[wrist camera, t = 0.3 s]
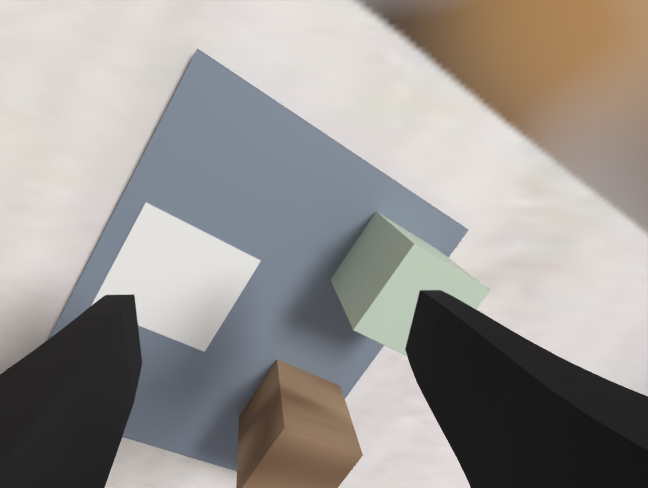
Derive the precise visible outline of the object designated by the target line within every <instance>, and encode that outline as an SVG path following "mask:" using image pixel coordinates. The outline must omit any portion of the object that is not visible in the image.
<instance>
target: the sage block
mask: <svg viewBox="0 0 648 488" xmlns="http://www.w3.org/2000/svg"><path fill="white" fill-rule="evenodd" d="M331 282H332V285H333V287H334V289H335V291H336V293H337V295H338V298H339V300H340V302H341V304H342V306H343V309H344V311H345V313H346V315H347V317H348V319H349V322H350V324H351V326H352V328H353V330H354V331H356V332H358V333H360V334H362V335H364V336H367V337H369V338H371V339H373V340H375V341H377V342H379V343H381V344H383V345H385V346H387V347H389V348H391V349H393V350H395V351H398V352H400V353H402V354H404V355H406V356H407V353H406V351H405V348H406V344H407V340H408V336H409V332H410V328H411V324H412V320H413V316H414V312H415V308H416V304H417V300H418V296H419V292H420V290H441V291H443V292H445V293H448V294H450V295H451V296H453V297H455V298H457V299H459V300H460V301H462V302H464V303H466V304H467V305H469V306H471V307H472V308H474V309H476V308H477V307H478V306H479V305H480V303H481V302H482V301H483V299H484V298H485V297H486V296H487V294H488V293H489V292H490V290H489V289H488V288H487V287H485V286H484V285H483V284H482V283H480V282H479V281H478V280H476V279H475V278H474V277H473V276H471V275H470V274H469V273H467V272H466V271H465V270H464V269H462V268H461V267H460V266H458V265H457V264H456V263H455V262H453V261H452V260H451V259H449V258H448V257H447V256H446V255H444V254H443V253H442V252H440V251H439V250H438V249H436V248H434V247H433V246H431V245H430V244H428V243H426V242H425V241H423V240H422V239H420V238H418V237H417V236H415V235H414V234H412V233H410V232H409V231H407V230H406V229H404V228H402V227H401V226H399V225H398V224H396V223H394V222H393V221H391V220H390V219H388V218H386V217H385V216H383V215H381V214H380V213H378V212H377V211H376V212H375V214H374V215H373V217H372V218H371V220H370V221H369V223H368V224H367V226H366V227H365V229H364V230H363V232H362V233H361V235H360V236H359V238H358V239H357V241H356V242H355V244H354V245H353V247H352V248H351V250H350V251H349V253H348V254H347V256H346V257H345V259H344V260H343V262H342V263H341V265H340V266H339V268H338V269H337V271H336V272H335V274H334V275H333V277H332V278H331Z"/></svg>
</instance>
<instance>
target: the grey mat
mask: <svg viewBox="0 0 648 488" xmlns="http://www.w3.org/2000/svg"><path fill="white" fill-rule="evenodd" d="M376 211H377V212H378V213H380V214H381V215H383V216H385V217H386V218H388V219H390V220H391V221H393V222H394V223H396V224H398V225H399V226H401V227H402V228H404V229H406V230H407V231H409V232H410V233H412V234H414V235H415V236H417V237H418V238H420V239H422V240H423V241H425V242H426V243H428V244H430V245H431V246H433V247H434V248H436V249H438V250H439V251H440V252H442V253H443V254H444V255H446V256H447V257H449V256H450V254H451V253H452V252H453V250H454V249H455V248H456V246H457V245H458V244H459V242H460V241H461V239H462V238H463V237H464V235H465V234H466V233H467V231H468V229H467V228H465V227H464V226H462V225H461V224H459V223H458V222H456V221H455V220H453V219H452V218H450V217H449V216H447V215H446V214H444V213H443V212H441V211H440V210H438V209H437V208H435V207H434V206H432V205H431V204H429V203H428V202H426V201H425V200H423V199H422V198H420V197H419V196H417V195H416V194H414V193H413V192H411V191H410V190H408V189H407V188H405V187H404V186H402V185H401V184H399V183H398V182H396V181H395V180H393V179H392V178H390V177H389V176H387V175H386V174H384V173H383V172H381V171H380V170H378V169H377V168H375V167H374V166H372V165H371V164H369V163H368V162H366V161H365V160H363V159H362V158H360V157H359V156H357V155H356V154H354V153H353V152H351V151H350V150H348V149H347V148H345V147H344V146H342V145H341V144H339V143H338V142H336V141H335V140H333V139H332V138H330V137H329V136H327V135H326V134H325V133H323V132H322V131H320V130H319V129H317V128H316V127H314V126H313V125H311V124H310V123H308V122H307V121H305V120H304V119H302V118H301V117H299V116H298V115H296V114H295V113H293V112H292V111H290V110H289V109H287V108H286V107H284V106H283V105H281V104H280V103H278V102H277V101H275V100H274V99H272V98H271V97H269V96H268V95H266V94H265V93H263V92H262V91H260V90H259V89H257V88H256V87H254V86H253V85H251V84H250V83H248V82H247V81H245V80H244V79H242V78H241V77H239V76H238V75H236V74H235V73H233V72H232V71H230V70H229V69H227V68H226V67H224V66H223V65H221V64H220V63H218V62H217V61H215V60H214V59H212V58H211V57H209V56H208V55H206V54H205V53H203V52H202V51H200V50H199V49H197V50H196V52H195V54H194V56H193V58H192V60H191V62H190V64H189V66H188V68H187V70H186V72H185V74H184V76H183V78H182V80H181V82H180V84H179V86H178V88H177V89H176V91H175V93H174V95H173V97H172V99H171V101H170V103H169V105H168V107H167V109H166V111H165V113H164V115H163V117H162V119H161V121H160V123H159V125H158V127H157V129H156V131H155V132H154V134H153V136H152V138H151V140H150V142H149V144H148V146H147V148H146V150H145V152H144V154H143V156H142V158H141V160H140V162H139V164H138V166H137V168H136V170H135V172H134V174H133V175H132V177H131V179H130V181H129V183H128V185H127V187H126V189H125V191H124V193H123V195H122V197H121V199H120V201H119V203H118V205H117V207H116V209H115V211H114V213H113V215H112V217H111V218H110V220H109V222H108V224H107V226H106V228H105V230H104V232H103V234H102V236H101V238H100V240H99V242H98V244H97V246H96V248H95V250H94V252H93V254H92V256H91V258H90V260H89V262H88V263H87V265H86V267H85V269H84V271H83V273H82V275H81V277H80V279H79V281H78V283H77V285H76V287H75V289H74V291H73V293H72V295H71V297H70V299H69V301H68V303H67V305H66V306H65V308H64V310H63V312H62V314H61V316H60V318H59V320H58V322H57V324H56V326H55V328H54V330H53V332H52V334H51V336H50V338H51V337H52V336H54V335H55V334H56V333H58V332H59V331H60V330H61V329H63V328H64V327H65V326H67V325H68V324H69V323H70V322H72V321H73V320H74V319H75V318H77V317H78V316H79V315H80V314H82V313H83V312H84V311H85V310H87V309H88V308H89V307H90V306H92V305H93V304H94V303H95V302H97V301H98V300H99V299H101V298H102V297H103V296H105V295H133V294H134V296H135V304H136V313H137V322H138V330H139V339H140V347H141V356H142V367H141V372H140V377H139V382H138V386H137V391H136V395H135V400H134V404H133V407H132V410H131V413H130V416H129V419H128V421H127V424H126V427H125V430H124V433H123V436H122V437H125V438H128V439H131V440H135V441H138V442H141V443H145V444H148V445H152V446H155V447H158V448H162V449H165V450H168V451H172V452H175V453H178V454H182V455H185V456H188V457H192V458H195V459H198V460H202V461H205V462H208V463H212V464H215V465H218V466H222V467H225V468H228V469H232V470H235V471H237V459H238V429H239V416H240V414H241V413H242V411H243V410H244V408H245V407H246V405H247V404H248V402H249V401H250V399H251V398H252V396H253V395H254V393H255V392H256V390H257V389H258V387H259V386H260V384H261V383H262V381H263V380H264V378H265V377H266V375H267V374H268V372H269V371H270V369H271V368H272V366H273V365H274V363H275V362H276V360H280V361H282V362H285V363H287V364H289V365H292V366H294V367H297V368H299V369H301V370H304V371H306V372H308V373H311V374H313V375H316V376H318V377H320V378H323V379H325V380H328V381H330V382H332V383H335V384H337V385H339V386H340V387H341V390H342V393H343V396H344V399H345V398H346V396H347V395H348V394H349V392H350V391H351V390H352V388H353V387H354V385H355V384H356V383H357V381H358V380H359V379H360V377H361V376H362V375H363V373H364V372H365V370H366V369H367V368H368V366H369V365H370V364H371V362H372V361H373V360H374V358H375V357H376V355H377V354H378V353H379V351H380V350H381V349H382V347H383V346H384V345H383V344H381V343H379V342H377V341H375V340H373V339H371V338H369V337H367V336H364V335H362V334H360V333H358V332H356V331H354V330H353V328H352V326H351V324H350V322H349V319H348V317H347V315H346V313H345V311H344V309H343V306H342V304H341V302H340V300H339V298H338V295H337V293H336V291H335V289H334V287H333V285H332V282H331V278H332V277H333V275H334V274H335V272H336V271H337V269H338V268H339V266H340V265H341V263H342V262H343V260H344V259H345V257H346V256H347V254H348V253H349V251H350V250H351V248H352V247H353V245H354V244H355V242H356V241H357V239H358V238H359V236H360V235H361V233H362V232H363V230H364V229H365V227H366V226H367V224H368V223H369V221H370V220H371V218H372V217H373V215H374V214H375V212H376ZM50 338H49V339H50Z"/></svg>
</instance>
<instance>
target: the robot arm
mask: <svg viewBox="0 0 648 488" xmlns="http://www.w3.org/2000/svg"><path fill="white" fill-rule="evenodd" d="M405 351H406V353H407V356H408V359H409V362H410V365H411V368H412V371H413V373H414V376H415V378H416V381H417V383H418V385H419V387H420V389H421V391H422V393H423V395H424V397H425V399H426V401H427V403H428V405H429V407H430V408H431V410H432V412H433V414H434V416H435V418H436V420H437V422H438V423H439V425H440V427H441V429H442V431H443V433H444V435H445V436H446V438H447V440H448V442H449V444H450V446H451V448H452V450H453V451H454V453H455V455H456V457H457V459H458V461H459V463H460V465H461V467H462V469H463V471H464V473H465V475H466V477H467V480H468V482H469V484H470V487H471V488H648V396H645V395H643V394H640V393H638V392H635V391H633V390H630V389H628V388H625V387H623V386H621V385H618V384H616V383H614V382H611V381H609V380H607V379H604V378H602V377H600V376H598V375H596V374H594V373H592V372H589V371H587V370H585V369H583V368H581V367H579V366H576V365H574V364H572V363H570V362H568V361H566V360H564V359H562V358H560V357H558V356H556V355H555V354H553V353H551V352H549V351H547V350H545V349H543V348H542V347H540V346H538V345H536V344H534V343H532V342H530V341H529V340H527V339H525V338H523V337H522V336H520V335H518V334H516V333H515V332H513V331H511V330H509V329H508V328H506V327H504V326H503V325H501V324H499V323H498V322H496V321H494V320H493V319H491V318H489V317H488V316H486V315H484V314H483V313H481V312H479V311H477V310H476V309H474V308H472V307H471V306H469V305H467V304H466V303H464V302H462V301H460V300H459V299H457V298H455V297H453V296H451V295H450V294H448V293H445V292H443V291H441V290H420V292H419V296H418V300H417V304H416V308H415V312H414V316H413V320H412V324H411V328H410V332H409V336H408V340H407V344H406V348H405ZM141 367H142V356H141V347H140V339H139V330H138V322H137V313H136V304H135V296H134V294H133V295H105V296H103V297H102V298H101V299H99V300H98V301H97V302H95V303H94V304H93V305H92V306H90V307H89V308H88V309H87V310H85V311H84V312H83V313H82V314H80V315H79V316H78V317H77V318H75V319H74V320H73V321H72V322H70V323H69V324H68V325H67V326H65V327H64V328H63V329H61V330H60V331H59V332H58V333H56V334H55V335H54V336H52V337H51V338H50V339H48V340H47V341H46V342H45V343H43V344H42V345H41V346H39V347H38V348H37V349H35V350H34V351H33V352H31V353H30V354H29V355H27V356H26V357H24V358H23V359H21V360H20V361H19V362H17V363H16V364H14V365H13V366H12V367H10V368H9V369H7V370H6V371H5V372H3V373H2V374H0V488H104V487H105V484H106V481H107V479H108V476H109V473H110V470H111V467H112V464H113V461H114V459H115V456H116V453H117V450H118V447H119V444H120V442H121V439H122V436H123V433H124V430H125V427H126V424H127V421H128V419H129V416H130V413H131V410H132V407H133V404H134V400H135V395H136V391H137V386H138V382H139V377H140V372H141Z"/></svg>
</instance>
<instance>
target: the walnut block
mask: <svg viewBox="0 0 648 488" xmlns="http://www.w3.org/2000/svg"><path fill="white" fill-rule="evenodd" d="M362 456H363V455H362V452H361V449H360V446H359V443H358V439H357V436H356V433H355V430H354V427H353V424H352V421H351V418H350V415H349V411H348V408H347V405H346V402H345V399H344V396H343V393H342V390H341V387H340V386H339V385H337V384H335V383H332V382H330V381H328V380H325V379H323V378H320V377H318V376H316V375H313V374H311V373H308V372H306V371H304V370H301V369H299V368H297V367H294V366H292V365H289V364H287V363H285V362H282V361H280V360H276V362H275V363H274V365H273V366H272V368H271V369H270V371H269V372H268V374H267V375H266V377H265V378H264V380H263V381H262V383H261V384H260V386H259V387H258V389H257V390H256V392H255V393H254V395H253V396H252V398H251V399H250V401H249V402H248V404H247V405H246V407H245V408H244V410H243V411H242V413H241V414H240V416H239V429H238V459H237V488H338V487H339V485H340V484H341V483H342V481H343V480H344V479H345V478H346V476H347V475H348V474H349V472H350V471H351V470H352V469H353V467H354V466H355V465H356V463H357V462H358V461H359V460H360V458H361V457H362Z"/></svg>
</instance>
